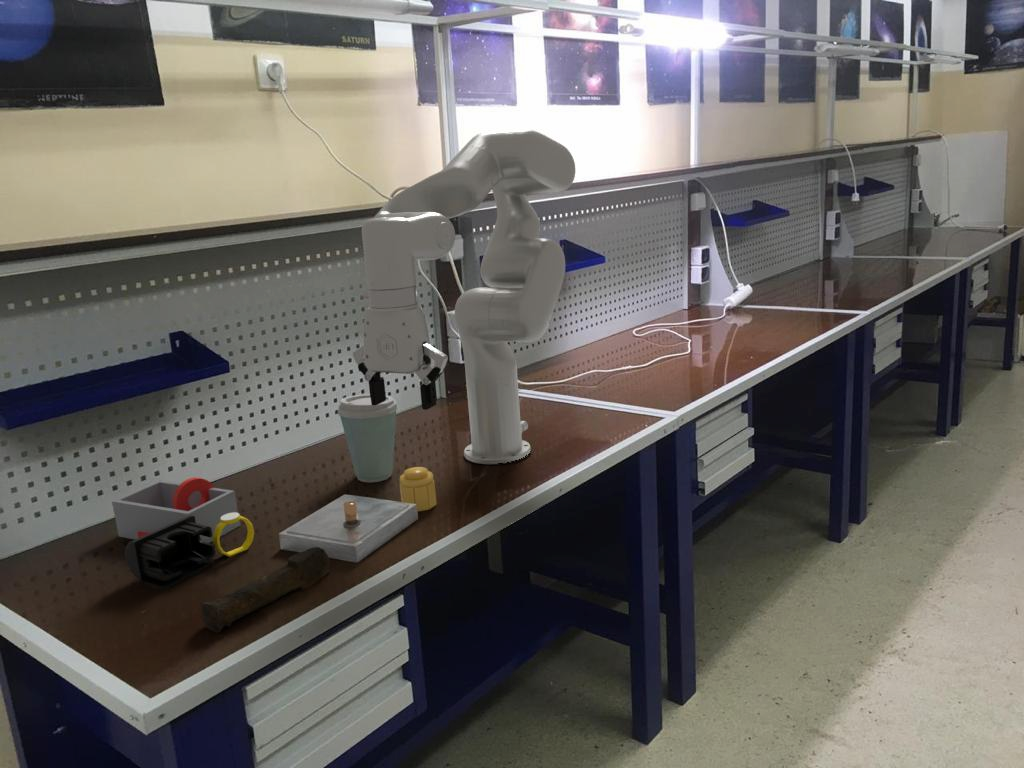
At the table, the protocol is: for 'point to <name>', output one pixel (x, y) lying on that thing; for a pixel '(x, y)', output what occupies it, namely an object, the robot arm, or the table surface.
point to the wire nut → (418, 488)
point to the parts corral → (170, 509)
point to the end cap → (170, 554)
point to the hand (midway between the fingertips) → (403, 405)
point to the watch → (231, 519)
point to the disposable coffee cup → (369, 435)
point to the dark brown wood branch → (267, 589)
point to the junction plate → (350, 527)
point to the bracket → (185, 491)
